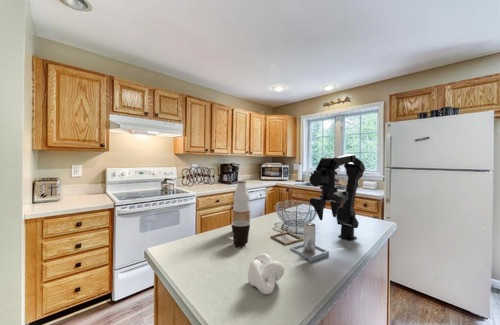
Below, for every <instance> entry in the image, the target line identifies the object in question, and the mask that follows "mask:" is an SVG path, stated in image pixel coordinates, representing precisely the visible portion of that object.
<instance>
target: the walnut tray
mask: <svg viewBox="0 0 500 325" xmlns="http://www.w3.org/2000/svg"><path fill="white" fill-rule="evenodd" d="M270 238H271V239H273V240H274V241H276V242H278V243H280V244H282V245H284V246H288V245H292V244H295V243H300V242H304V237H303V238H302V237H300V236H298V235H296V234H293V233H291V232H289V231H285V232H280V233H277V234H273V235H270Z"/></svg>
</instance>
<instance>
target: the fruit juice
mask: <svg viewBox="0 0 500 325" xmlns="http://www.w3.org/2000/svg"><path fill="white" fill-rule="evenodd" d="M236 184H237V186H236V189H235V192H234V194H232V196H233V205H232V222H234V221H247V222H249V223H250V224H251V204H250V198H251V197H250V196H251V195H250V193H249V192H248V188H247V186H246V185H247V181H246V180H241V179H240V180H237V181H236ZM250 230H251V225H250V226H249V231H250Z"/></svg>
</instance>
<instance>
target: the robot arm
mask: <svg viewBox="0 0 500 325" xmlns="http://www.w3.org/2000/svg"><path fill="white" fill-rule="evenodd" d="M342 165H343V167H344V168H345V173H346V176H347V178H348V179H347V181H346V182H347V184H346V188H345V191H339V190H338V187H337V186H336V175H338V172H337V171H336V170H337V169H339V168H340V166H342ZM365 171H366V168H365V165H364V162H363V161H362V160H361V159H359V158H358V157H356V154H354V153H353V154H343V155H340V156H334V157H332V156H329V157H326V156H322V157H320V160H319V162H318V164H317V166H316V169H315V170H313V173H312V174H311V175H310V176H309V183H310V185H311V186H313V187H319V189H321V194H320V195H319V197H317V196H314V197H310V199H309V200H308V201H309V205H311V206H312V207H313V208H314V211H315V212H316V214H317V217H318V220H320V221H323V218H324V209H325V208H326V204H327V203H330V204H329V205H330V209H331V213H332V217H333V218H336V222H337V225H339V226H340V234H338V238H341V239H344V240H347V241H353V240H355V239H358V237H357V236H355V229H358V227H359V220H358V219H357V218H356V214H357V213H356V210H355V208H354V205H355V200H356V196H357V190H358V183H359V180H360V179H361V178H362V177H363V175H364V173H365Z"/></svg>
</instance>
